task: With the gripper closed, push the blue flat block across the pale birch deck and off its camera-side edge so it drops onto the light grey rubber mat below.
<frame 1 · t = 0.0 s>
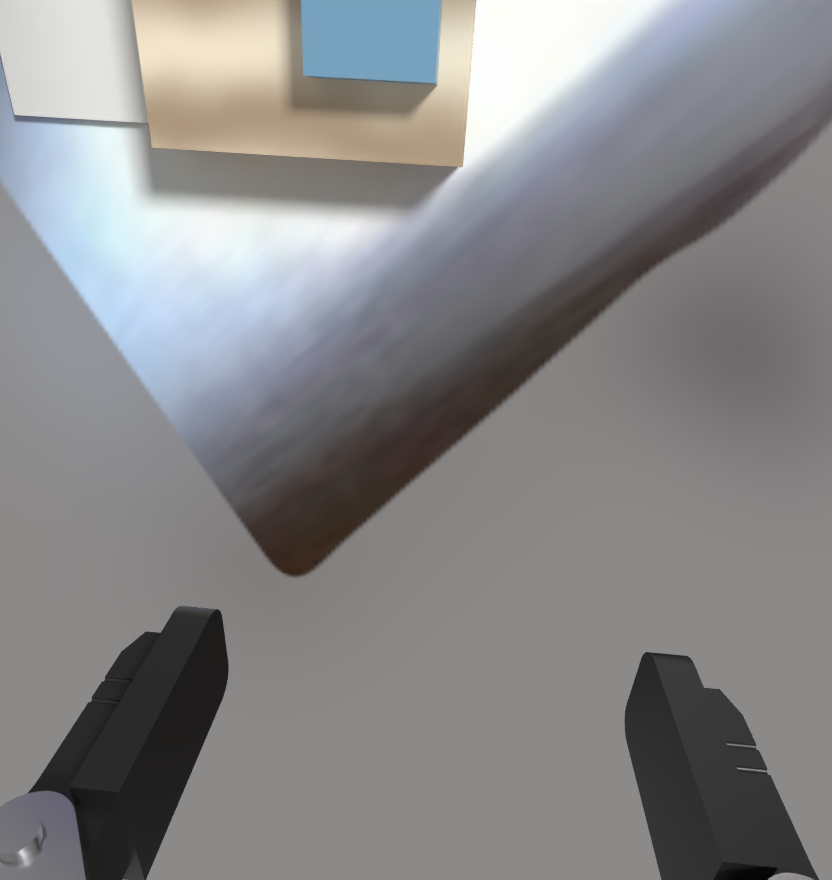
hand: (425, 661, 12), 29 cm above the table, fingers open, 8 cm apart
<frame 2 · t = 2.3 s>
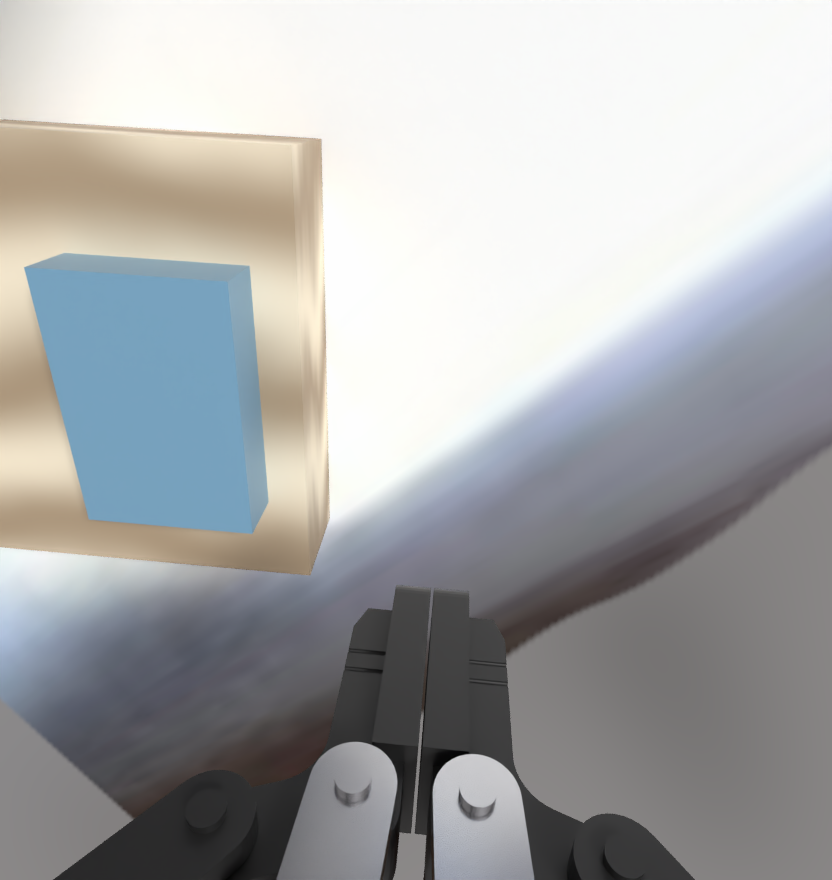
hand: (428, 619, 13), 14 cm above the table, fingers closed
deck: (133, 343, 25), on the table
blue flat block: (176, 389, 21), point 4 cm above the table, touching deck
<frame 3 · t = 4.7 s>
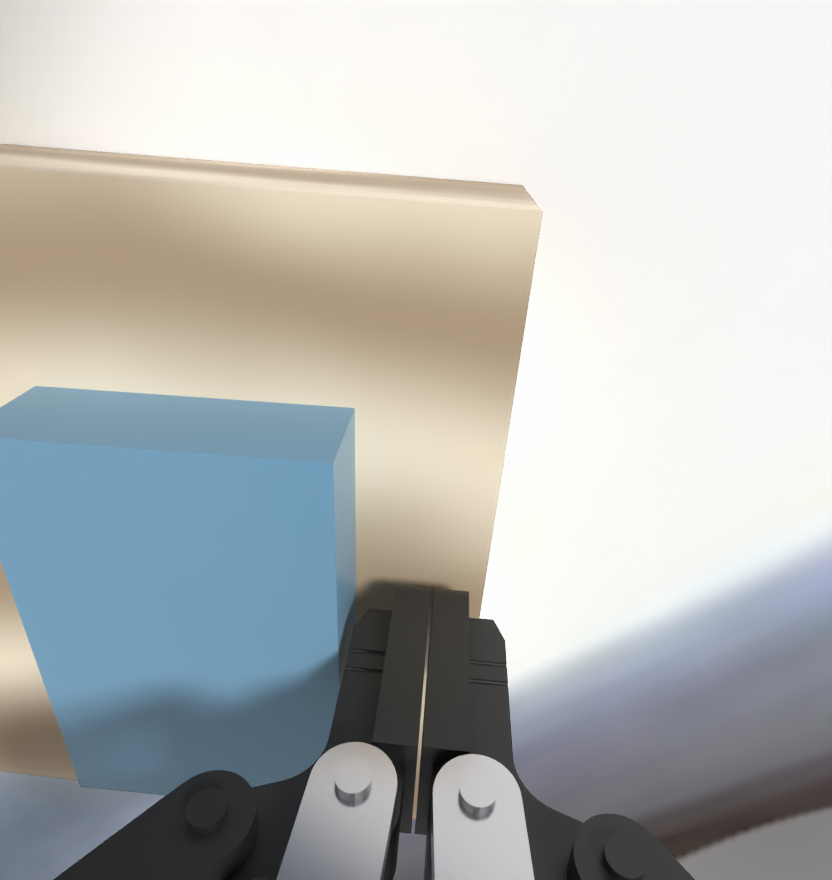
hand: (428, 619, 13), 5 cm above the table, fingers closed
deck: (189, 473, 17), on the table
blue flat block: (220, 585, 13), point 4 cm above the table
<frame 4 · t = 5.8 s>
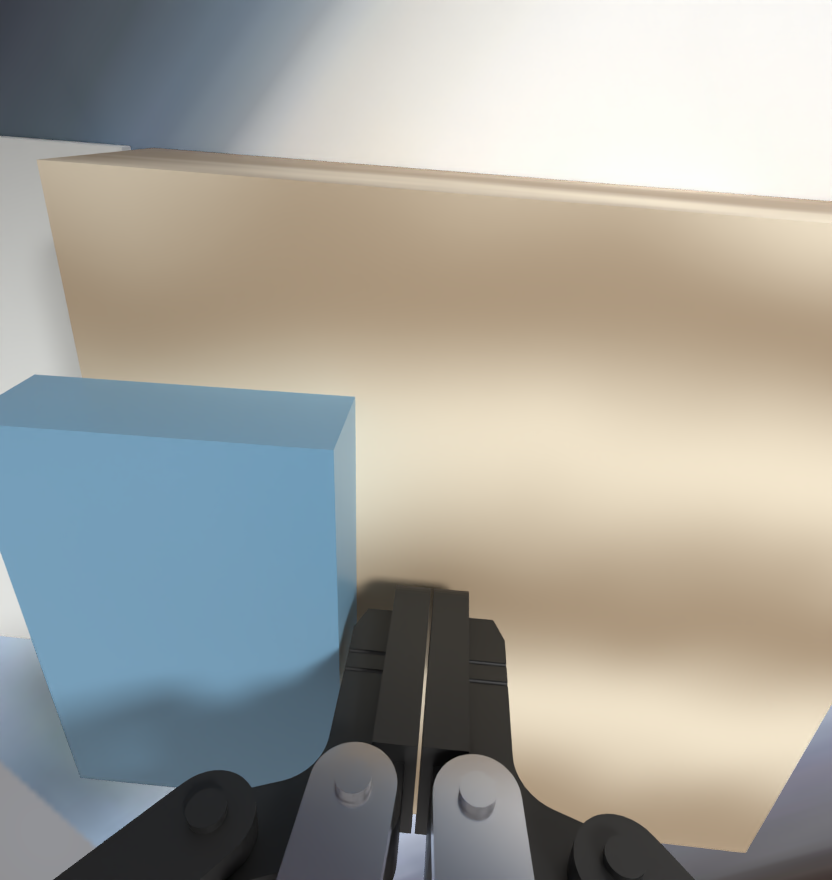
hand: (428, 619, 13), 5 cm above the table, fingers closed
deck: (482, 496, 17), on the table
blue flat block: (220, 575, 13), point 4 cm above the table, touching deck
mat: (13, 435, 17), on the table
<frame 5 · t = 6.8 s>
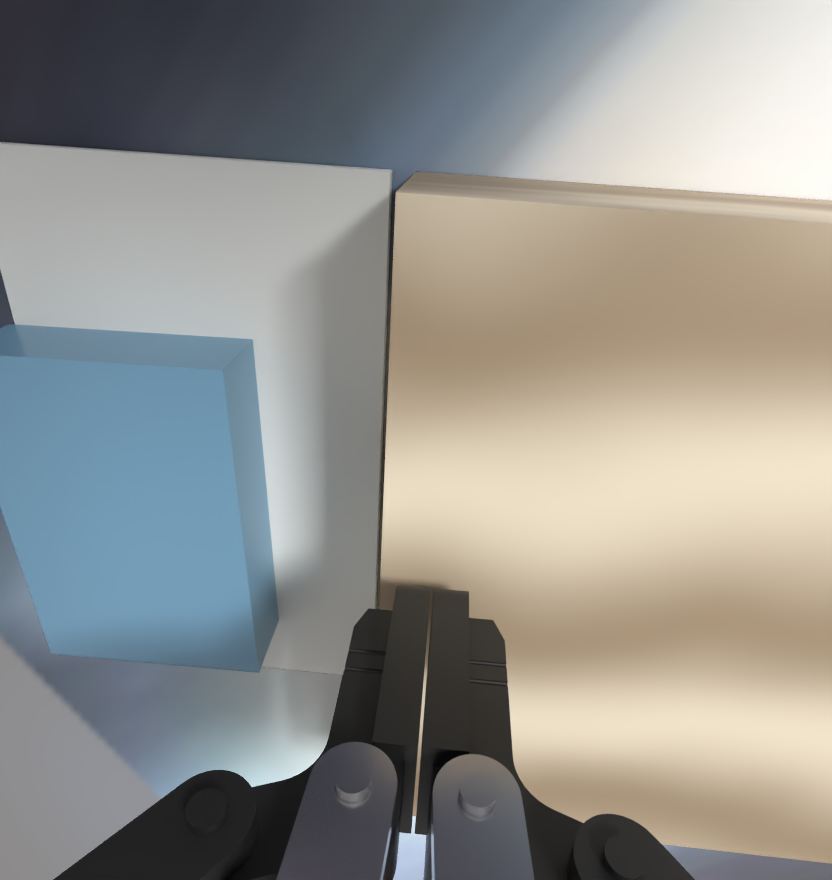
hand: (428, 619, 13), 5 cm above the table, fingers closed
deck: (696, 517, 16), on the table
blue flat block: (123, 533, 15), point 2 cm above the table, tilted 180°, touching mat
mat: (217, 458, 17), on the table
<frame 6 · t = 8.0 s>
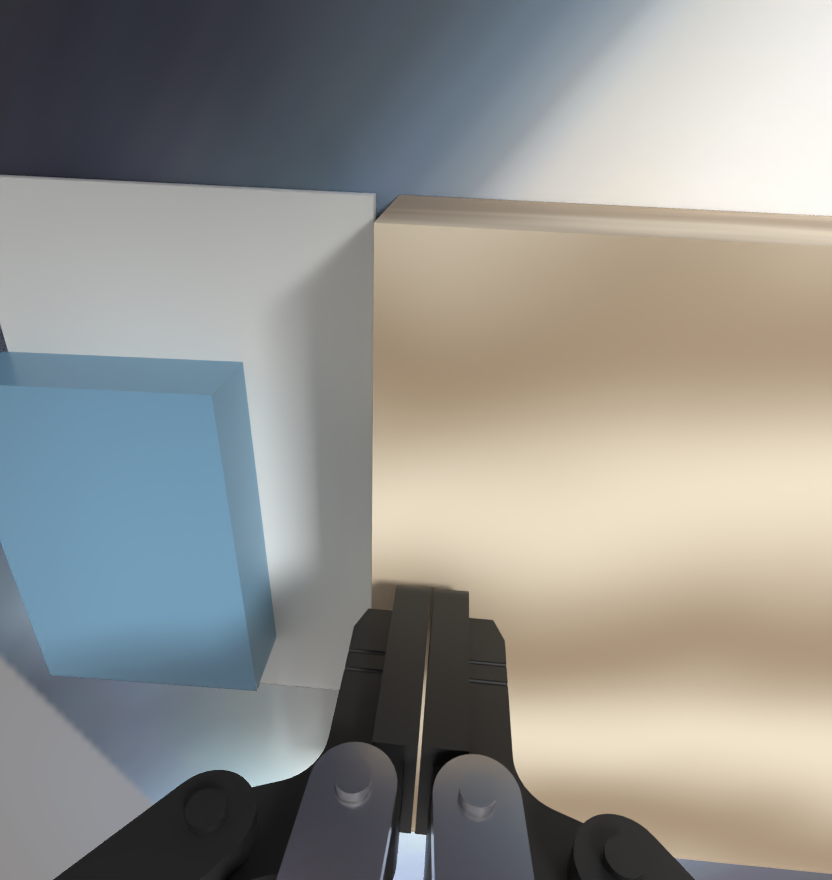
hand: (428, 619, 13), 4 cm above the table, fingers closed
deck: (688, 529, 16), on the table
blue flat block: (118, 556, 15), point 2 cm above the table, tilted 180°, touching mat
mat: (211, 478, 17), on the table
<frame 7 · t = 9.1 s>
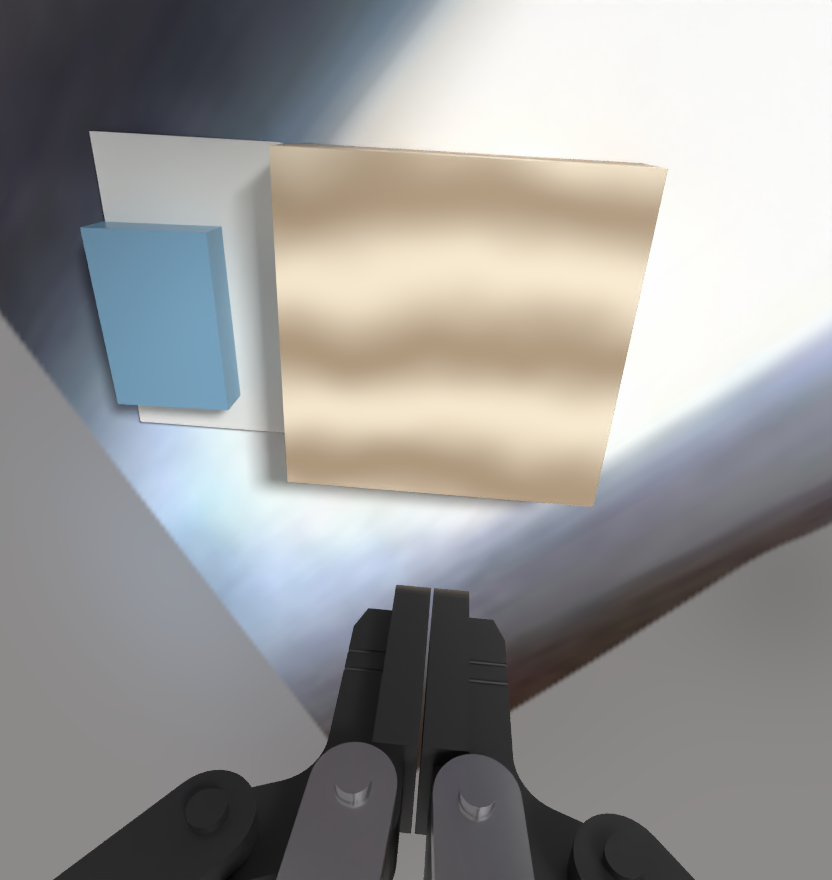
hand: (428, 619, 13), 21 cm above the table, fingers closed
deck: (452, 322, 32), on the table
blue flat block: (158, 324, 30), point 2 cm above the table, tilted 180°, touching mat
mat: (205, 296, 32), on the table
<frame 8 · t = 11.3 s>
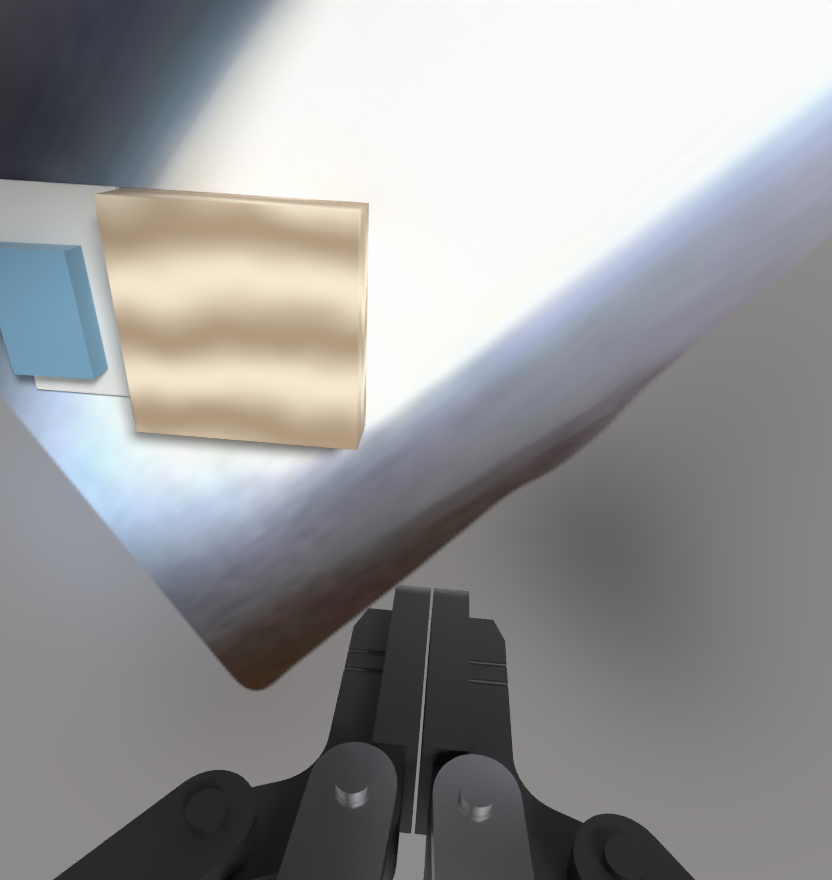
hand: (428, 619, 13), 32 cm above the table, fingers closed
deck: (255, 315, 43), on the table
blue flat block: (37, 316, 42), point 2 cm above the table, tilted 180°, touching mat
mat: (76, 295, 44), on the table
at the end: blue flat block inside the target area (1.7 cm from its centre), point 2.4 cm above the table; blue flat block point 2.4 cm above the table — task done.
